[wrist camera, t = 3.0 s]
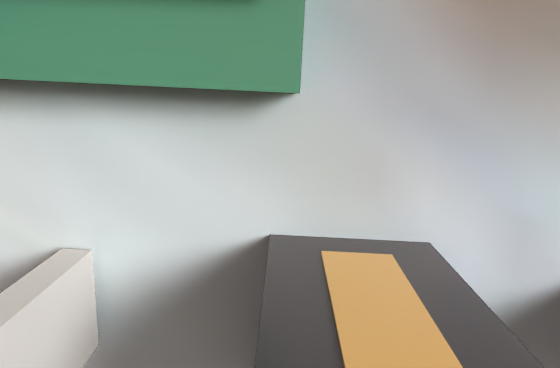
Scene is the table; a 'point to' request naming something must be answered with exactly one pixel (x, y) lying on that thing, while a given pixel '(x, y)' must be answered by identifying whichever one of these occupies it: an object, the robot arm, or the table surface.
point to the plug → (375, 309)
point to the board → (155, 43)
